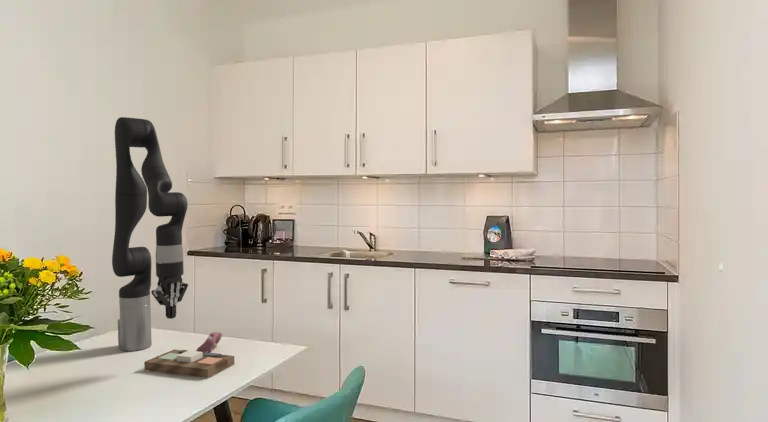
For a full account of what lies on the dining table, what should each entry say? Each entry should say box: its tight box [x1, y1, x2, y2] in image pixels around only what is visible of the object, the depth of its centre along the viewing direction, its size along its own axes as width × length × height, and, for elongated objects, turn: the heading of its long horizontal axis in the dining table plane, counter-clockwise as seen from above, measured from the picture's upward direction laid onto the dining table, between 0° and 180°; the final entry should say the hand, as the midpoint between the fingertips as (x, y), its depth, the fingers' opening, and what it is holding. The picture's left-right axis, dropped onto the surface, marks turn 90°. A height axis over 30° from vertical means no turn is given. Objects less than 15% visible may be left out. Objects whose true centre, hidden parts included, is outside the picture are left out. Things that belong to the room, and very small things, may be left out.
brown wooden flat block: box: [143, 348, 235, 379], centre depth 150 cm, size 22×12×3 cm, turn 71°
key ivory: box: [177, 350, 203, 363], centre depth 150 cm, size 5×5×2 cm
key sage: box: [158, 353, 179, 360], centre depth 152 cm, size 5×5×2 cm
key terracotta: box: [197, 357, 223, 365], centre depth 147 cm, size 5×5×2 cm
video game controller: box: [196, 331, 223, 353], centre depth 166 cm, size 10×5×7 cm, turn 179°
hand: (171, 317), depth 152 cm, fingers closed
